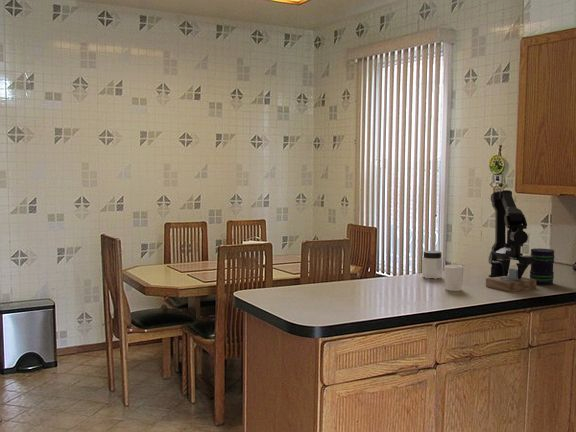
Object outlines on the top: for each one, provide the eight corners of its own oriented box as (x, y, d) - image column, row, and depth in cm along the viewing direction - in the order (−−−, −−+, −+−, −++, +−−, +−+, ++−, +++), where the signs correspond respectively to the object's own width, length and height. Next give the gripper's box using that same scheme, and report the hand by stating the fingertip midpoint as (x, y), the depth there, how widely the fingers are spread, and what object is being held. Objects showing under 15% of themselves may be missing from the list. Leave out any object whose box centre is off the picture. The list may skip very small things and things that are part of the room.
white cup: (441, 290, 262) (442, 266, 261) (446, 287, 269) (446, 264, 268) (460, 292, 259) (461, 268, 258) (464, 288, 266) (465, 265, 265)
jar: (434, 279, 286) (434, 253, 285) (419, 277, 292) (419, 251, 291) (444, 277, 292) (445, 251, 291) (429, 275, 298) (430, 250, 297)
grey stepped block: (511, 284, 272) (512, 268, 271) (519, 286, 268) (519, 269, 268) (501, 285, 269) (502, 269, 268) (509, 287, 265) (509, 271, 265)
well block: (512, 283, 278) (512, 275, 278) (536, 288, 267) (536, 279, 266) (485, 286, 271) (485, 278, 270) (509, 292, 259) (509, 283, 259)
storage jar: (549, 281, 282) (550, 248, 281) (556, 285, 272) (557, 251, 271) (526, 281, 283) (527, 248, 282) (532, 285, 273) (534, 251, 272)
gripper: (483, 240, 272) (482, 275, 273) (517, 245, 255) (516, 282, 257) (502, 238, 277) (501, 273, 278) (536, 243, 261) (535, 280, 262)
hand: (512, 277), depth 269 cm, fingers open, 7 cm apart
